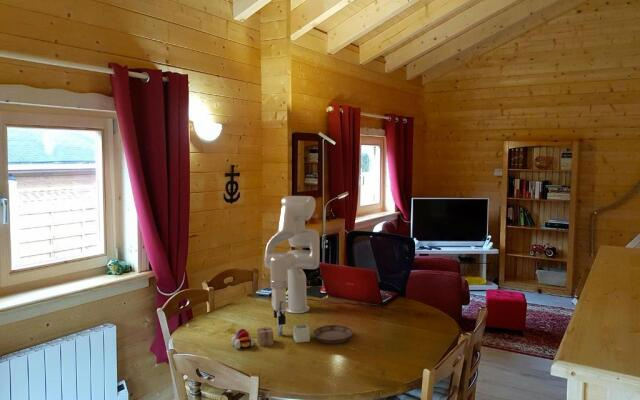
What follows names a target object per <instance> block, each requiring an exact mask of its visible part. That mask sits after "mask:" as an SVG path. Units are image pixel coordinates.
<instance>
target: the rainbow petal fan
mask: <svg viewBox="0 0 640 400" xmlns="http://www.w3.org/2000/svg"><path fill="white" fill-rule="evenodd" d="M230 342H231V344H232V345H233V346H234V347H235V348H236V349H240V348H241V347H242V348H246V347H247V348H248V347H250V346H251V347H253V346H254V345H255V339H254V338H253V337H251V335H250V333H249V332H248V331H247V329H246V328H240V329H239V330H237V331H236V333H235V336H232V338H231V340H230Z"/></svg>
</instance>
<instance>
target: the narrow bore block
mask: <svg viewBox="0 0 640 400" xmlns="http://www.w3.org/2000/svg"><path fill="white" fill-rule="evenodd" d="M256 331H257V332H256V335H257V337H256V338H257V343H258V345H260V346H259V347H264V346H265V345H266V346H272V344H273V345H274V330H273V328H272V326H262V327H257V329H256Z"/></svg>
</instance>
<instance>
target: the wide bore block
mask: <svg viewBox="0 0 640 400" xmlns="http://www.w3.org/2000/svg"><path fill="white" fill-rule="evenodd" d="M292 328H293V330H292V333H293V334H292V335H293V340H294V341H295V343H305V342H310V340H311V339H310V338H311V337H310V336H311V334H310V329H311V328H310V326H309V325H308V323H299V324H293V325H292Z"/></svg>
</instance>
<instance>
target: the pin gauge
mask: <svg viewBox="0 0 640 400" xmlns="http://www.w3.org/2000/svg"><path fill="white" fill-rule="evenodd" d="M280 312H281V311H280ZM276 313H277V318H276V320H277V321H276V322H277V323H276V325H277V328H276V329H277V337H282V335H283V334H284V333H283V332H284V331H283V330H284V328H283V327H284V326H283V325H284V324H283V325H279V324H278V316H279V313H278V310H277V311H276ZM283 336H284V335H283Z"/></svg>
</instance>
